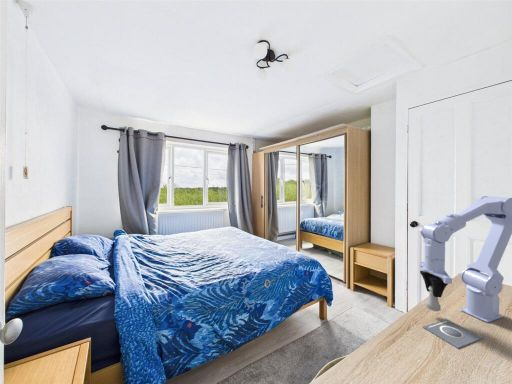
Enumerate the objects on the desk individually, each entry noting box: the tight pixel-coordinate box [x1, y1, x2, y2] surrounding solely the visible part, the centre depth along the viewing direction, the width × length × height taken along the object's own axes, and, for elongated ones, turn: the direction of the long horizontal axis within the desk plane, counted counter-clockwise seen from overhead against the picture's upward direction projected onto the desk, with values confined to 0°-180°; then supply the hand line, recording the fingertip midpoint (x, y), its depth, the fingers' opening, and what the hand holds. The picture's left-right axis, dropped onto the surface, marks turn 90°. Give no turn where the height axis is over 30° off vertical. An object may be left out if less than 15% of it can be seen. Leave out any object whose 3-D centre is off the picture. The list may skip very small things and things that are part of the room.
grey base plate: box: [422, 318, 484, 349], centre depth 71 cm, size 12×10×1 cm
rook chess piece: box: [425, 285, 442, 312], centre depth 80 cm, size 4×4×8 cm
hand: (433, 293), depth 80 cm, fingers closed on rook chess piece, 3 cm apart
